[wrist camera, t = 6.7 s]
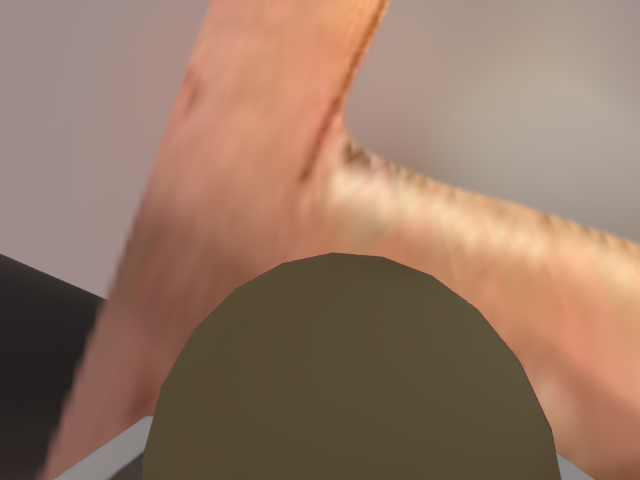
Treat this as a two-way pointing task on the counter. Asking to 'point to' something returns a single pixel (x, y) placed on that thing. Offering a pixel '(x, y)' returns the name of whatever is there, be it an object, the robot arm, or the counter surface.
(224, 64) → the counter surface
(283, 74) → the counter surface
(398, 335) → the cork
